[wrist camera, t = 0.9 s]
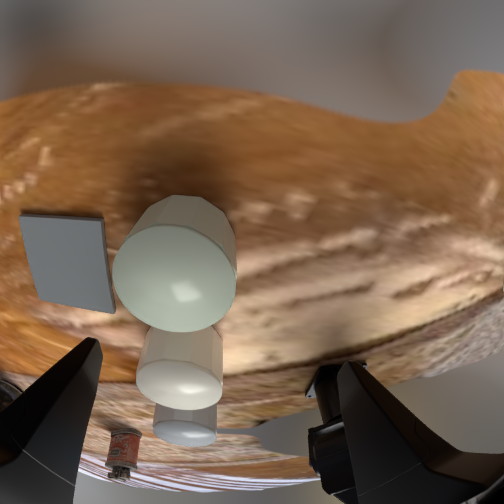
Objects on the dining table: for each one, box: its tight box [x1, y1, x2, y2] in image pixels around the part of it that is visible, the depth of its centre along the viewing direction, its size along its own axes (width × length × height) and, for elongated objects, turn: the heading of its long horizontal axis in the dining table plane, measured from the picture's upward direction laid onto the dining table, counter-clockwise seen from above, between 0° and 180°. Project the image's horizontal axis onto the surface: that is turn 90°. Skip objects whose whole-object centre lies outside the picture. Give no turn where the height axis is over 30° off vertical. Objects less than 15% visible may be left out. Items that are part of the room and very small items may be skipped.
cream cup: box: [136, 326, 223, 410], centre depth 23 cm, size 7×7×6 cm
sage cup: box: [112, 195, 237, 332], centre depth 18 cm, size 7×7×6 cm
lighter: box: [105, 429, 142, 482], centre depth 32 cm, size 8×3×10 cm, turn 124°
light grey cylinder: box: [153, 402, 217, 447], centre depth 28 cm, size 7×7×6 cm
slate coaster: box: [19, 214, 116, 314], centre depth 20 cm, size 9×9×1 cm
